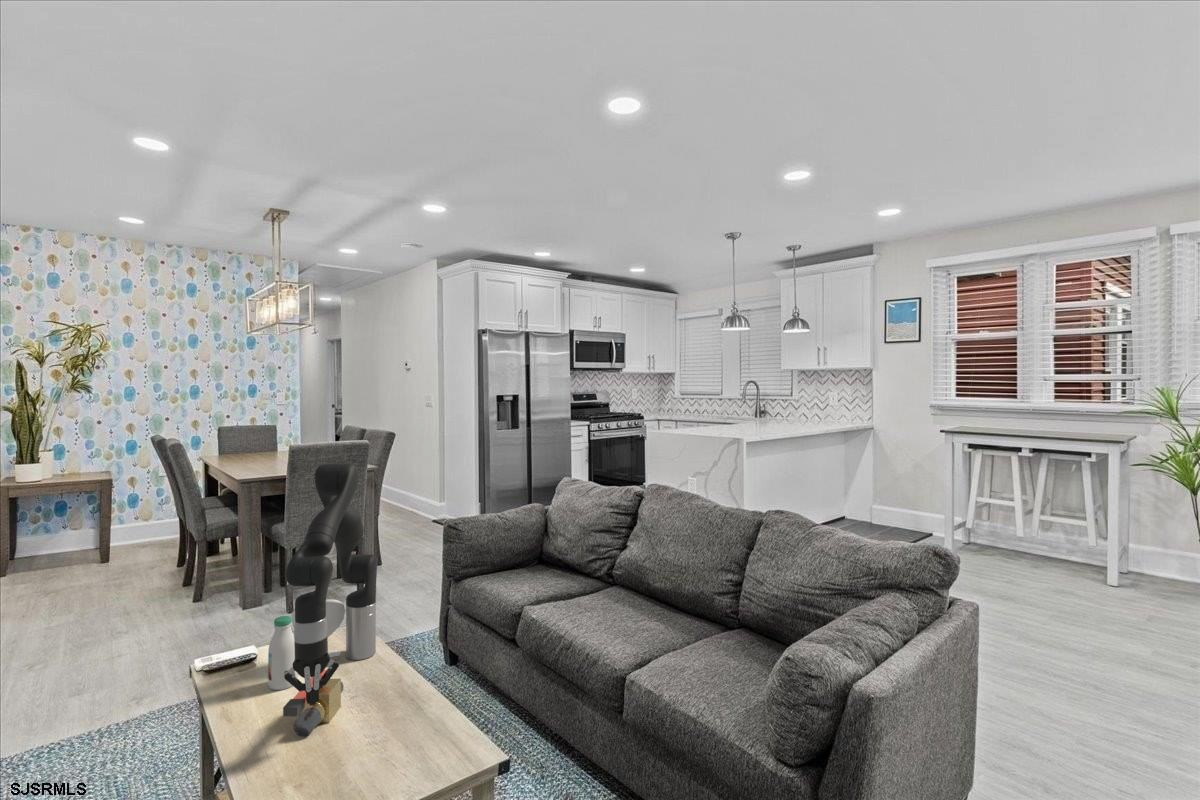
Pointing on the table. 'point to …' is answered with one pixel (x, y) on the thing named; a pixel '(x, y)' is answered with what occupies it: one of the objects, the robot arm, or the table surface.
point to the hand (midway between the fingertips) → (312, 703)
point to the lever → (297, 702)
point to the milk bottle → (281, 653)
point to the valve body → (320, 708)
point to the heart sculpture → (331, 619)
